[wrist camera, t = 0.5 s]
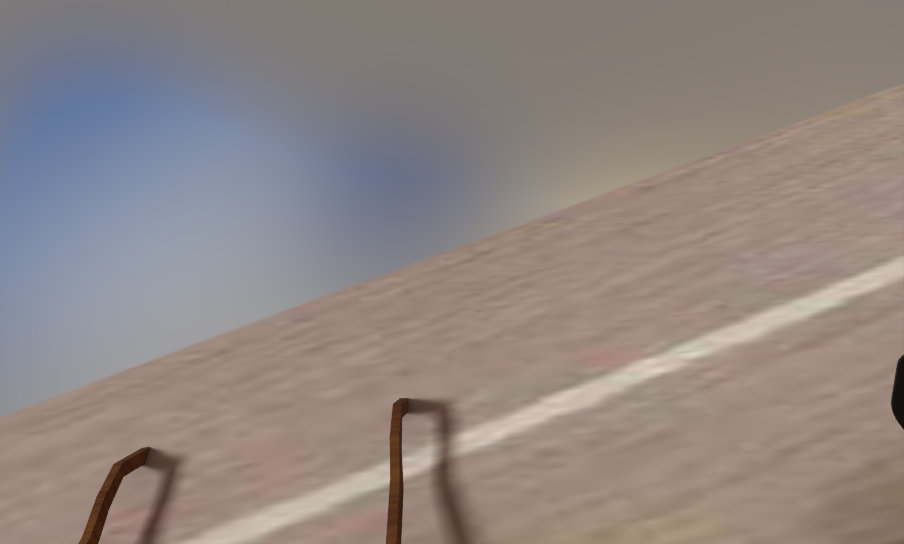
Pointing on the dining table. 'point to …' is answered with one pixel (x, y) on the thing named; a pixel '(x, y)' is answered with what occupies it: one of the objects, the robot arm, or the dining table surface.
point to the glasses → (139, 457)
